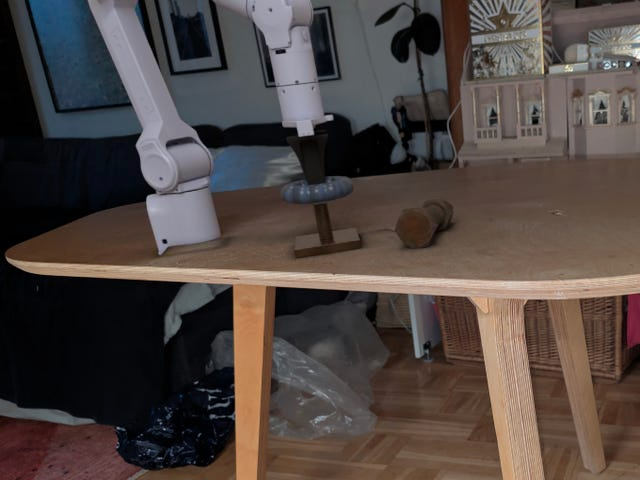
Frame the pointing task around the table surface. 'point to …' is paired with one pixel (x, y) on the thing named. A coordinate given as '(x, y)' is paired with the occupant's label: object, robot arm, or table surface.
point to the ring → (317, 190)
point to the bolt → (423, 222)
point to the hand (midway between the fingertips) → (316, 185)
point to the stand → (325, 236)
